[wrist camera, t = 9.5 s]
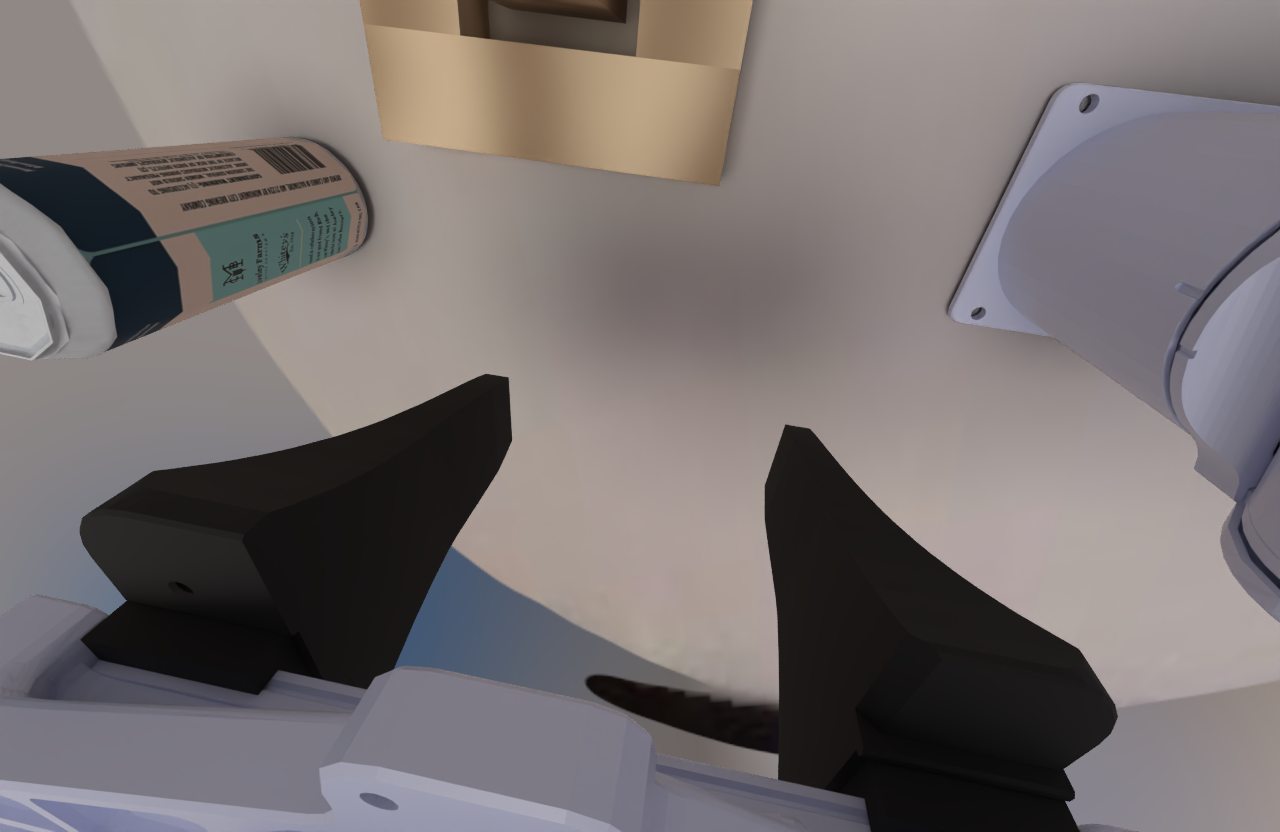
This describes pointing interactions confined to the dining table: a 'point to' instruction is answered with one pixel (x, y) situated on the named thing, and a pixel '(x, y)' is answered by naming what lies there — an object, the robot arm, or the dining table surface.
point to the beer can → (160, 236)
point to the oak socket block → (562, 82)
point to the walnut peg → (573, 8)
